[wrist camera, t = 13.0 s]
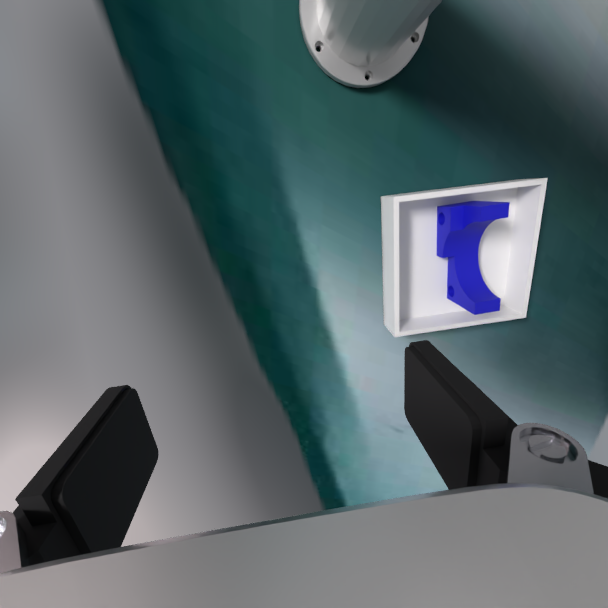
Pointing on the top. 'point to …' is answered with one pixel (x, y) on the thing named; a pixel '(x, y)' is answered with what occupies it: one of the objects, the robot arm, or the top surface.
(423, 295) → the tray
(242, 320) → the top surface
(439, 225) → the cable clip
